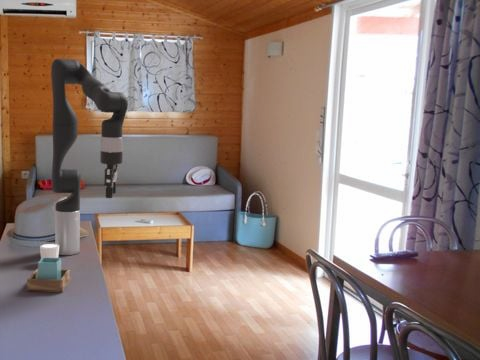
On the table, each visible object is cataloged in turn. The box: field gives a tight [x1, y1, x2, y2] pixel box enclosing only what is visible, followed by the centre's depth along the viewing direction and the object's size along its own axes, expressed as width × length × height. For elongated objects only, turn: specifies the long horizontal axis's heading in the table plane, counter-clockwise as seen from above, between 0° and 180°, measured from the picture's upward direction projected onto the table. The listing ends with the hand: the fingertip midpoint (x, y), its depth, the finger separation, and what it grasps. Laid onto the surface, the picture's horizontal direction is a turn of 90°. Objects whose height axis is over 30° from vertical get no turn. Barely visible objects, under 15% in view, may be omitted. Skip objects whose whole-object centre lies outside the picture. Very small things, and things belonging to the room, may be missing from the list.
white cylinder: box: [39, 243, 59, 260], centre depth 213 cm, size 7×7×7 cm
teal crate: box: [37, 257, 62, 280], centre depth 189 cm, size 6×6×8 cm
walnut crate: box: [26, 268, 71, 294], centre depth 190 cm, size 12×11×4 cm
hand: (110, 195), depth 204 cm, fingers open, 8 cm apart
